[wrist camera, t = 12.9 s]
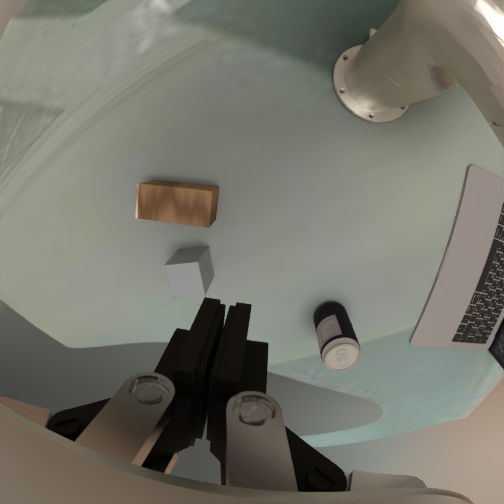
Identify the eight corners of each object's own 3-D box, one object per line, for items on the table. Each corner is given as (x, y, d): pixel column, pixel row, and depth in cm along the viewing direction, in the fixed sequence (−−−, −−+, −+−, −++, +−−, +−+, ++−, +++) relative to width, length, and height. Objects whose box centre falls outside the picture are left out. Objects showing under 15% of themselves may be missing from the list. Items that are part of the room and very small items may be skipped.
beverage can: (315, 331, 51) (323, 377, 39) (311, 303, 49) (320, 346, 38) (347, 325, 50) (362, 368, 38) (344, 297, 48) (361, 338, 37)
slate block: (178, 249, 48) (164, 265, 41) (208, 246, 47) (198, 261, 40) (185, 278, 49) (172, 297, 42) (214, 275, 49) (205, 295, 42)
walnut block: (137, 183, 39) (212, 191, 39) (150, 179, 44) (219, 186, 44) (135, 218, 41) (208, 227, 41) (148, 211, 46) (215, 219, 46)
